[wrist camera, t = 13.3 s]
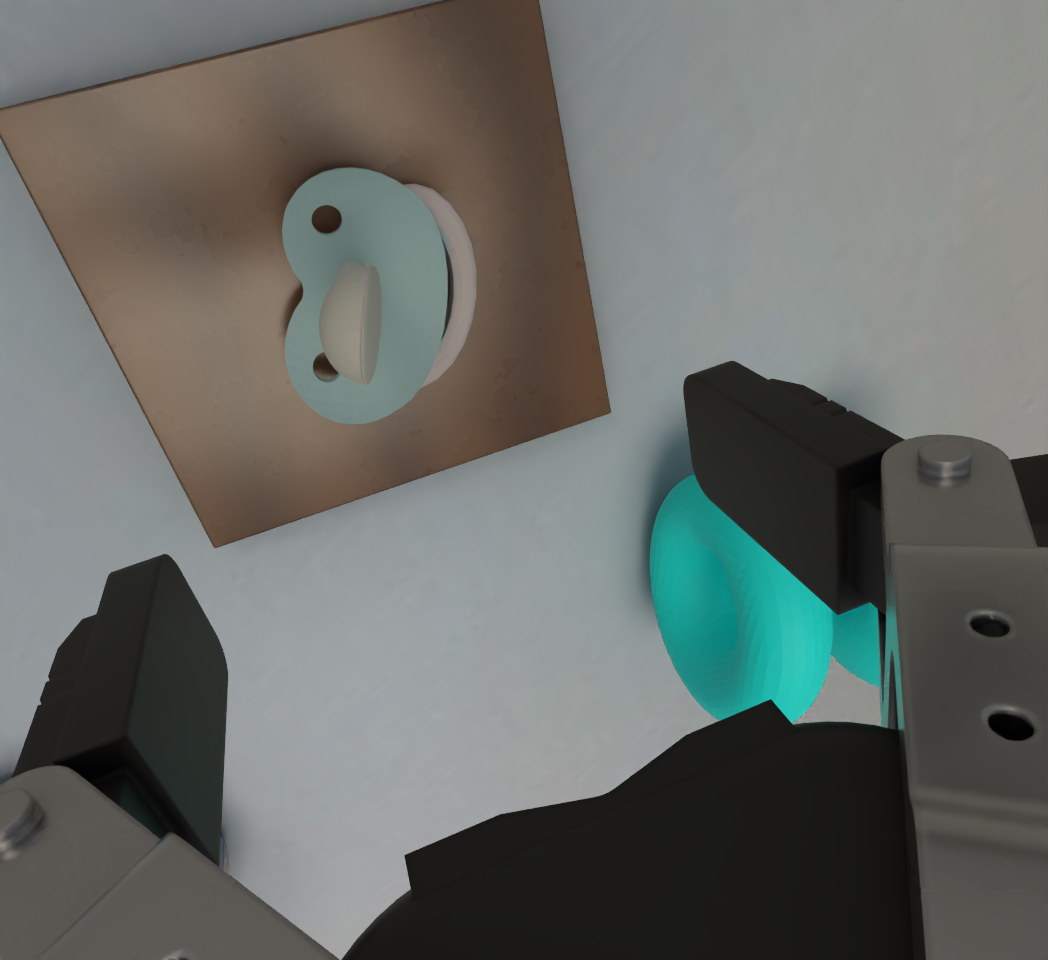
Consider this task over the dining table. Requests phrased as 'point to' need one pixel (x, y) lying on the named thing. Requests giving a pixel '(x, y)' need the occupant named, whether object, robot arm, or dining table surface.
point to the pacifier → (375, 292)
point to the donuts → (745, 615)
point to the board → (256, 232)
